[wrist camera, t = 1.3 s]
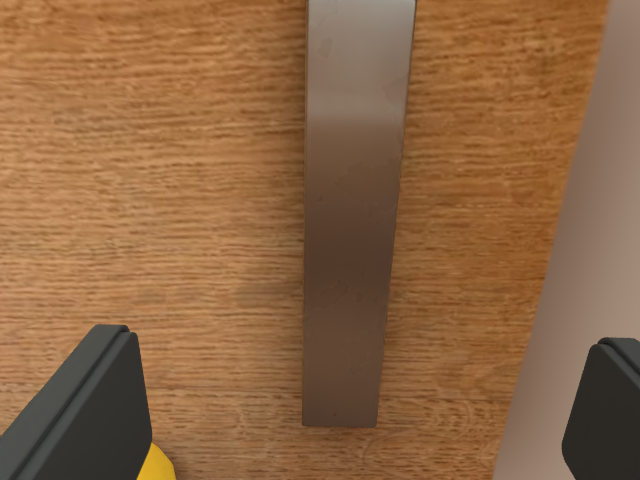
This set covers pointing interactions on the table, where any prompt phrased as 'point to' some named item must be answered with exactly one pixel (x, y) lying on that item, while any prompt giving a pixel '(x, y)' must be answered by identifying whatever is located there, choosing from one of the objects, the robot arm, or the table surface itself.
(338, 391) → the stick
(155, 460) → the fish
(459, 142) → the table surface
